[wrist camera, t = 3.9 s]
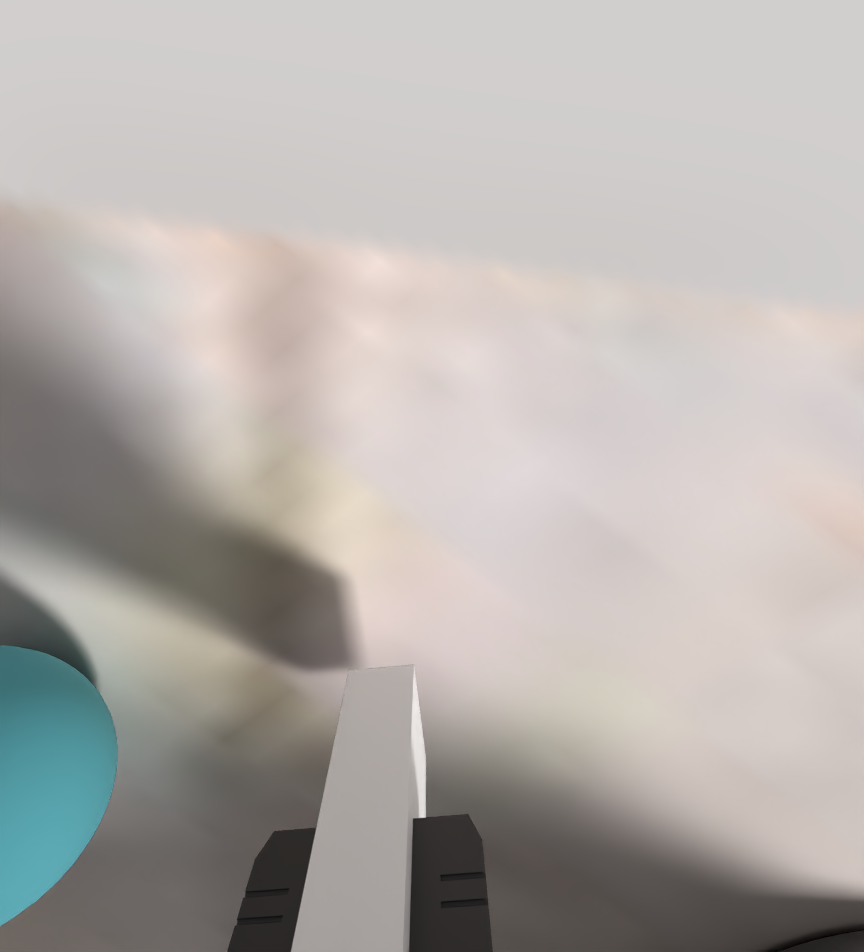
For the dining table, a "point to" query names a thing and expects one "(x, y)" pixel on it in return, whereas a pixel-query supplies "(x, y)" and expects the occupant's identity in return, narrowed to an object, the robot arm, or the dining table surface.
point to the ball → (48, 772)
